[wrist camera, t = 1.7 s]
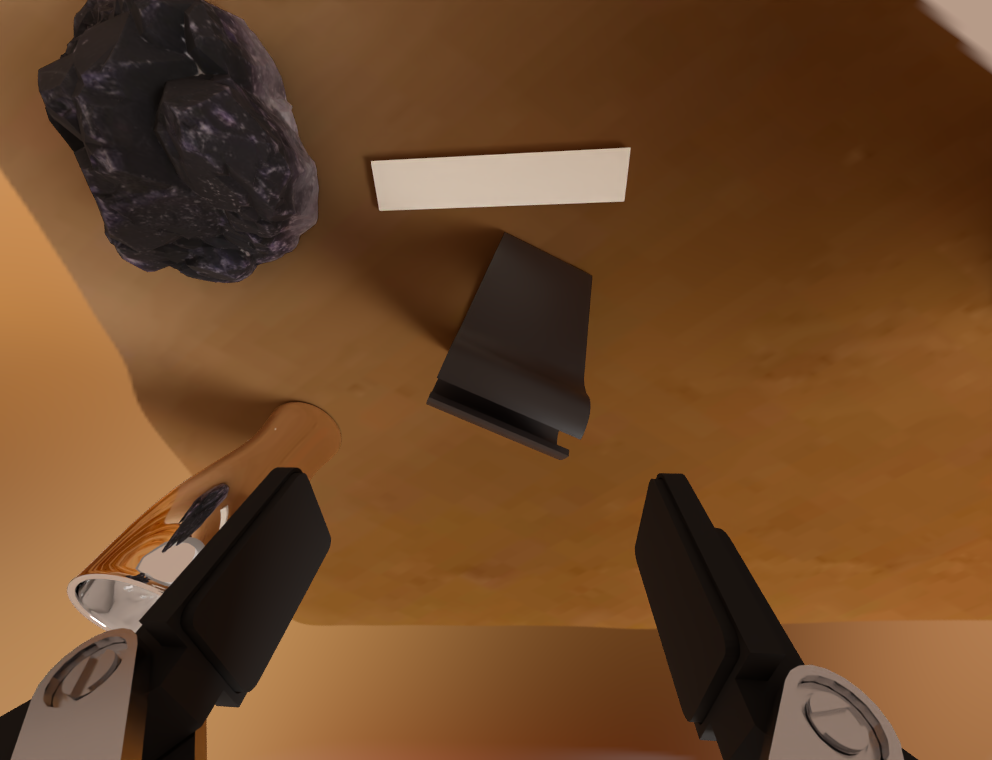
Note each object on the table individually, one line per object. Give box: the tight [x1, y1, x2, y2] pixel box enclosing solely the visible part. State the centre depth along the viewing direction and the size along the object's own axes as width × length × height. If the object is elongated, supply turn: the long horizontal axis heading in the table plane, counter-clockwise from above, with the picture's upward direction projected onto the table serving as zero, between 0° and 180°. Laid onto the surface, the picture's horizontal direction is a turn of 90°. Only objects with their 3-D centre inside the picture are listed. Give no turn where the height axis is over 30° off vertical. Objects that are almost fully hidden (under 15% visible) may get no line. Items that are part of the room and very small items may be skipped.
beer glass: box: [67, 402, 342, 633], centre depth 24 cm, size 7×7×15 cm
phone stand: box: [426, 233, 592, 460], centre depth 19 cm, size 9×6×12 cm, turn 155°
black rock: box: [38, 0, 319, 283], centre depth 17 cm, size 13×14×10 cm
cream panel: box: [371, 148, 631, 211], centre depth 20 cm, size 14×2×1 cm, turn 92°
